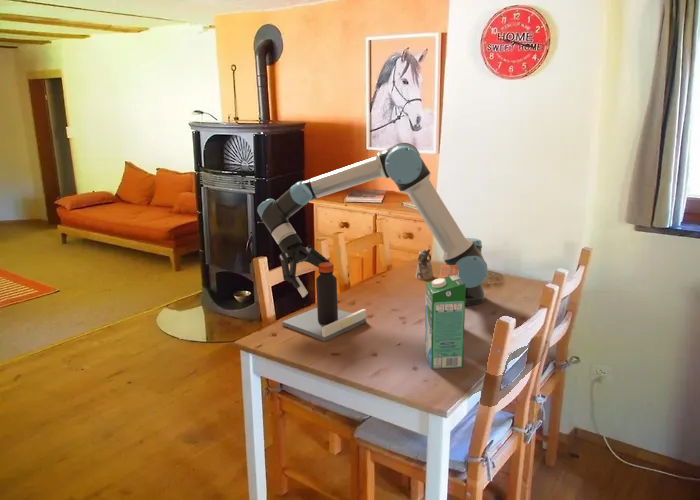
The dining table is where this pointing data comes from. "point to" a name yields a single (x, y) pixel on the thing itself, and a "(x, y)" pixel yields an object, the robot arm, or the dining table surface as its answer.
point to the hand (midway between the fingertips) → (320, 289)
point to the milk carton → (445, 322)
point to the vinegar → (326, 294)
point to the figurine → (424, 266)
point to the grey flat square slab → (313, 328)
